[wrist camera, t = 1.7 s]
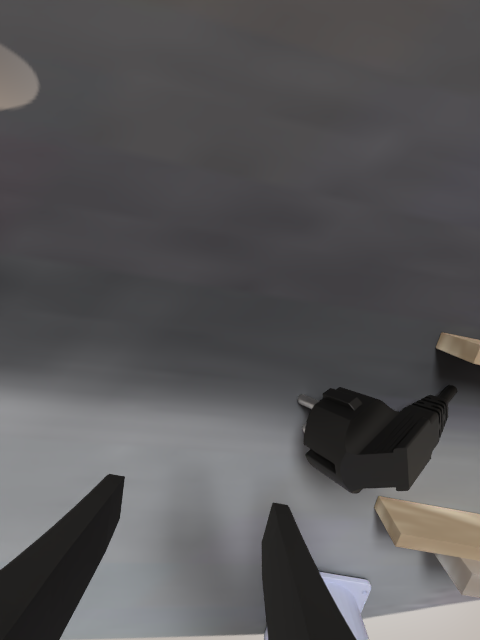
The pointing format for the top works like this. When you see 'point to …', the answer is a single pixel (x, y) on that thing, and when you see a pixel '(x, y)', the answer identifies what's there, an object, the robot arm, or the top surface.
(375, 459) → the power plug
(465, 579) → the guide channel
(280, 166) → the top surface
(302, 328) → the top surface
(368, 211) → the top surface
